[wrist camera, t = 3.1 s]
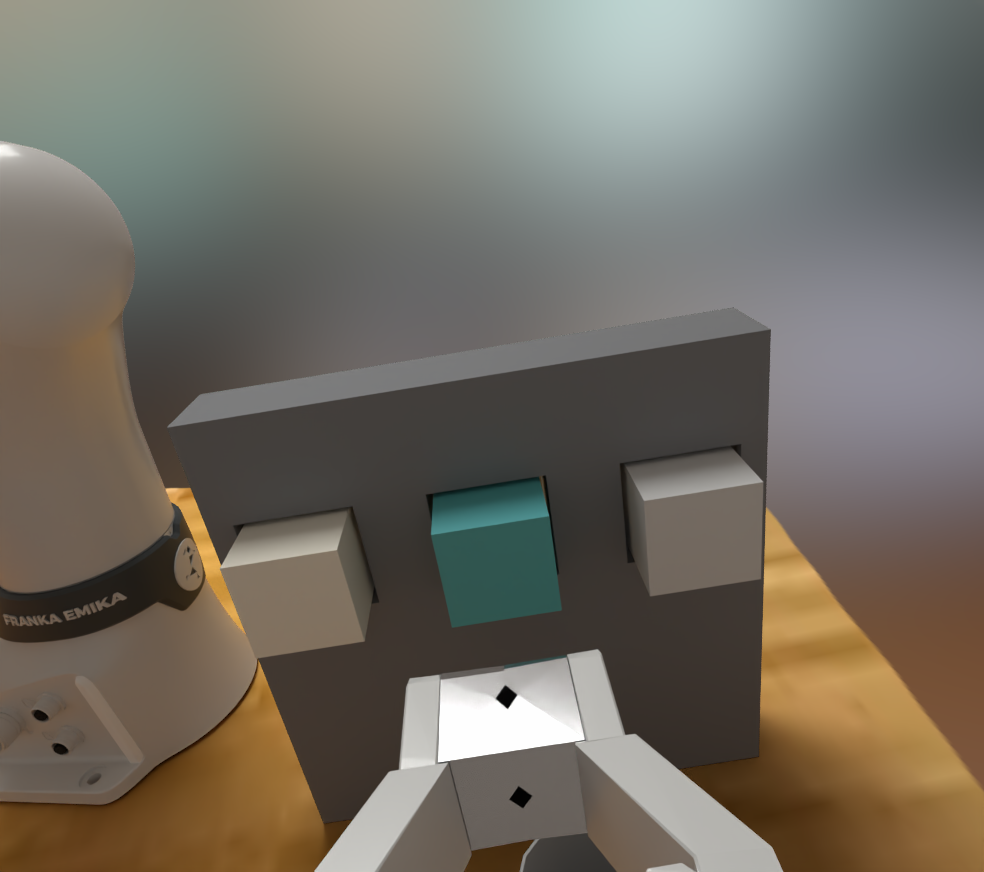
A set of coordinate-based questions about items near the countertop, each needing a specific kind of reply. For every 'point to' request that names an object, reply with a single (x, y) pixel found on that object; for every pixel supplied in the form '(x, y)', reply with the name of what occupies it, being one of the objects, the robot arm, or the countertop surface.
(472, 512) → the teal push-block
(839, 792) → the countertop surface
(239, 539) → the cream push-block
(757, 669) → the button panel
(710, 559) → the light grey push-block
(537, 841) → the cup
